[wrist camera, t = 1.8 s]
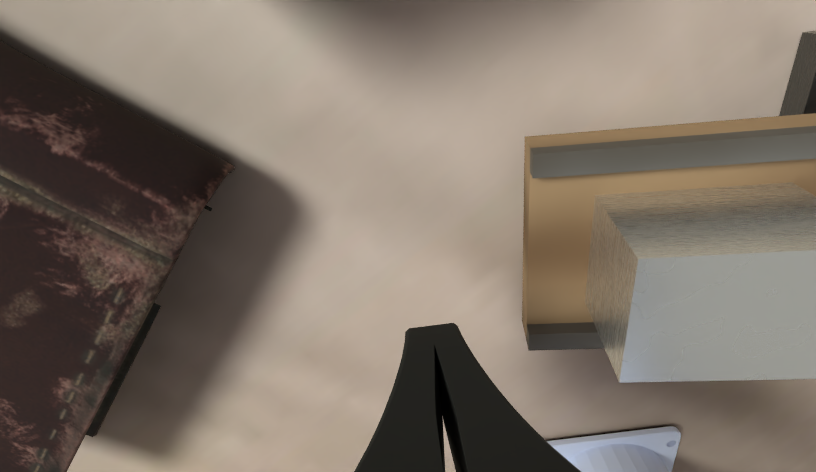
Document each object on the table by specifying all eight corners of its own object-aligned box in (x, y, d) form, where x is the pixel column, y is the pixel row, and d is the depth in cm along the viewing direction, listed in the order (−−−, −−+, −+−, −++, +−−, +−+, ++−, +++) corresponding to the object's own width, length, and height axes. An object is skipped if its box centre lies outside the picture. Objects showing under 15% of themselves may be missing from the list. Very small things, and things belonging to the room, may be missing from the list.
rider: (756, 295, 17) (838, 378, 13) (584, 301, 17) (619, 382, 14) (792, 182, 15) (900, 245, 11) (594, 195, 15) (638, 259, 12)
